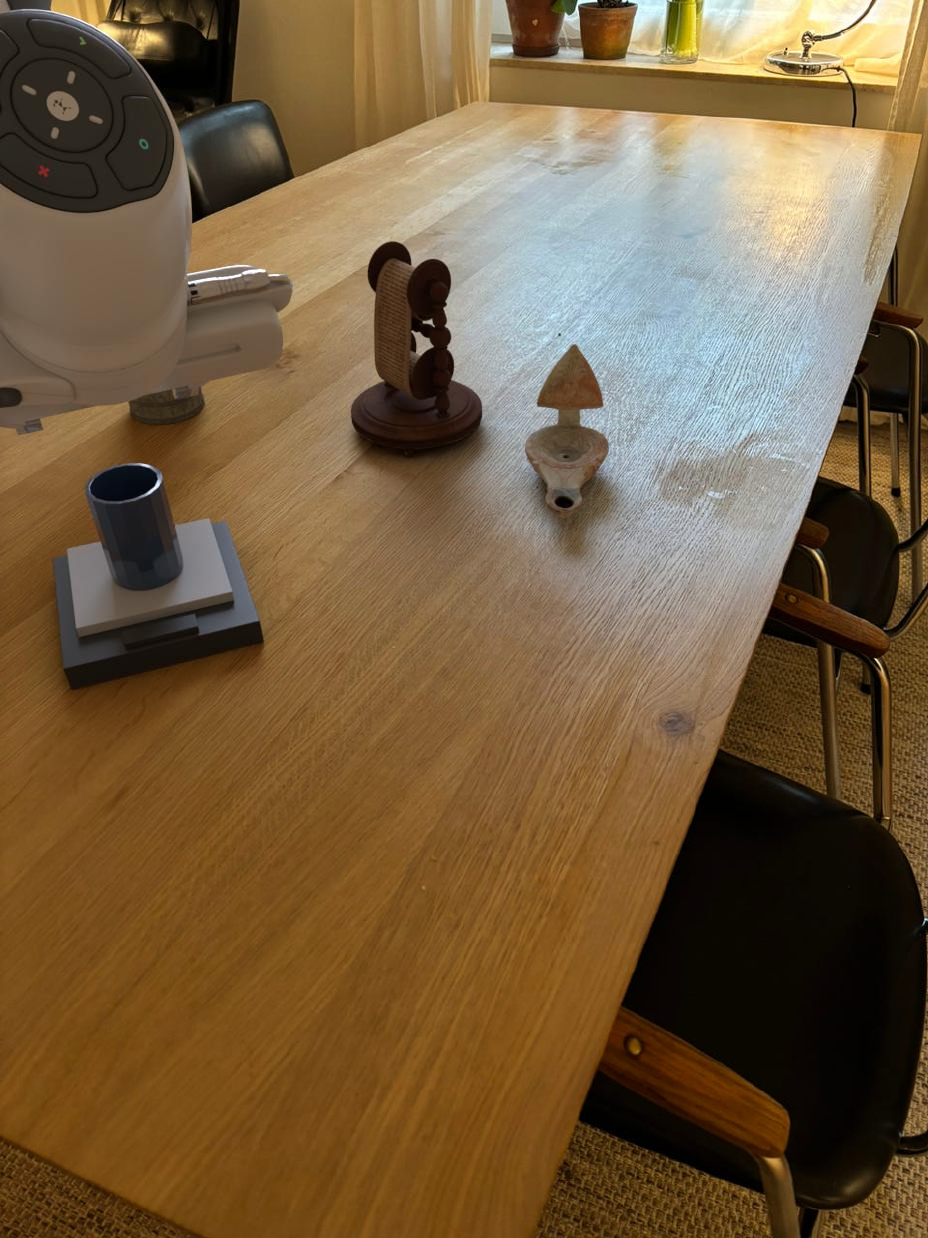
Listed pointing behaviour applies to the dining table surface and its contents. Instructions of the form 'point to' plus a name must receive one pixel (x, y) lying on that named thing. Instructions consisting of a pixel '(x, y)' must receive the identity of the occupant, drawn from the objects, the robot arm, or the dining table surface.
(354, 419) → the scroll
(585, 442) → the oil lamp
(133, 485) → the cup
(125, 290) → the robot arm
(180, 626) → the scale
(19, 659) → the dining table surface
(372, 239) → the dining table surface
